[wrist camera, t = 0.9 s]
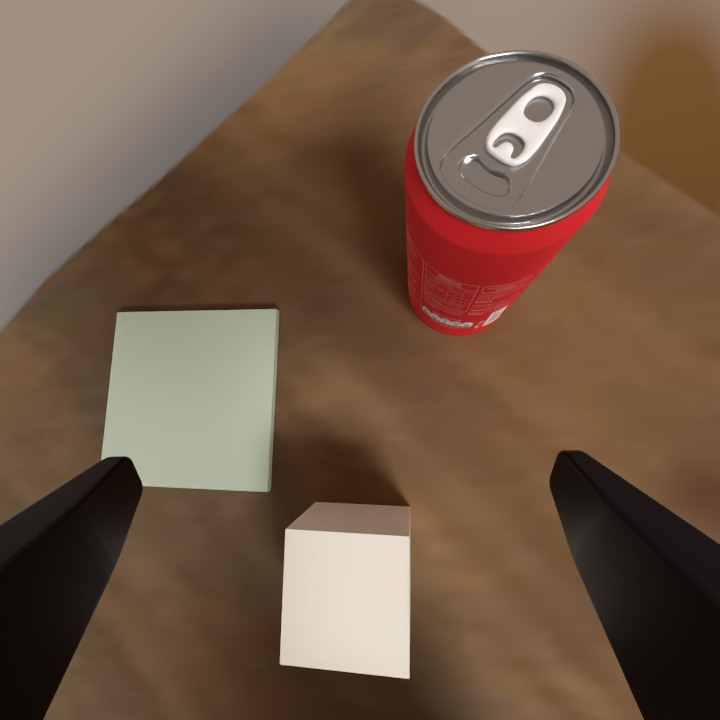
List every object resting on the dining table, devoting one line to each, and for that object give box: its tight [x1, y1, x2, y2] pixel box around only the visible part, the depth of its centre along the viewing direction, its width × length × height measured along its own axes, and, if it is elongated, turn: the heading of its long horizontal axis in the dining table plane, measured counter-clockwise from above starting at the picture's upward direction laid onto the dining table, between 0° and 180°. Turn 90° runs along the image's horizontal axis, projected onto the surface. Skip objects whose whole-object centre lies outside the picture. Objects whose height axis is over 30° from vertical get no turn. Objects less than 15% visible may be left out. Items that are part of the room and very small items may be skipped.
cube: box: [280, 502, 410, 679], centre depth 17 cm, size 5×5×5 cm
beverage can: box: [404, 50, 620, 336], centre depth 15 cm, size 5×5×12 cm
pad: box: [101, 309, 280, 492], centre depth 22 cm, size 10×10×1 cm
